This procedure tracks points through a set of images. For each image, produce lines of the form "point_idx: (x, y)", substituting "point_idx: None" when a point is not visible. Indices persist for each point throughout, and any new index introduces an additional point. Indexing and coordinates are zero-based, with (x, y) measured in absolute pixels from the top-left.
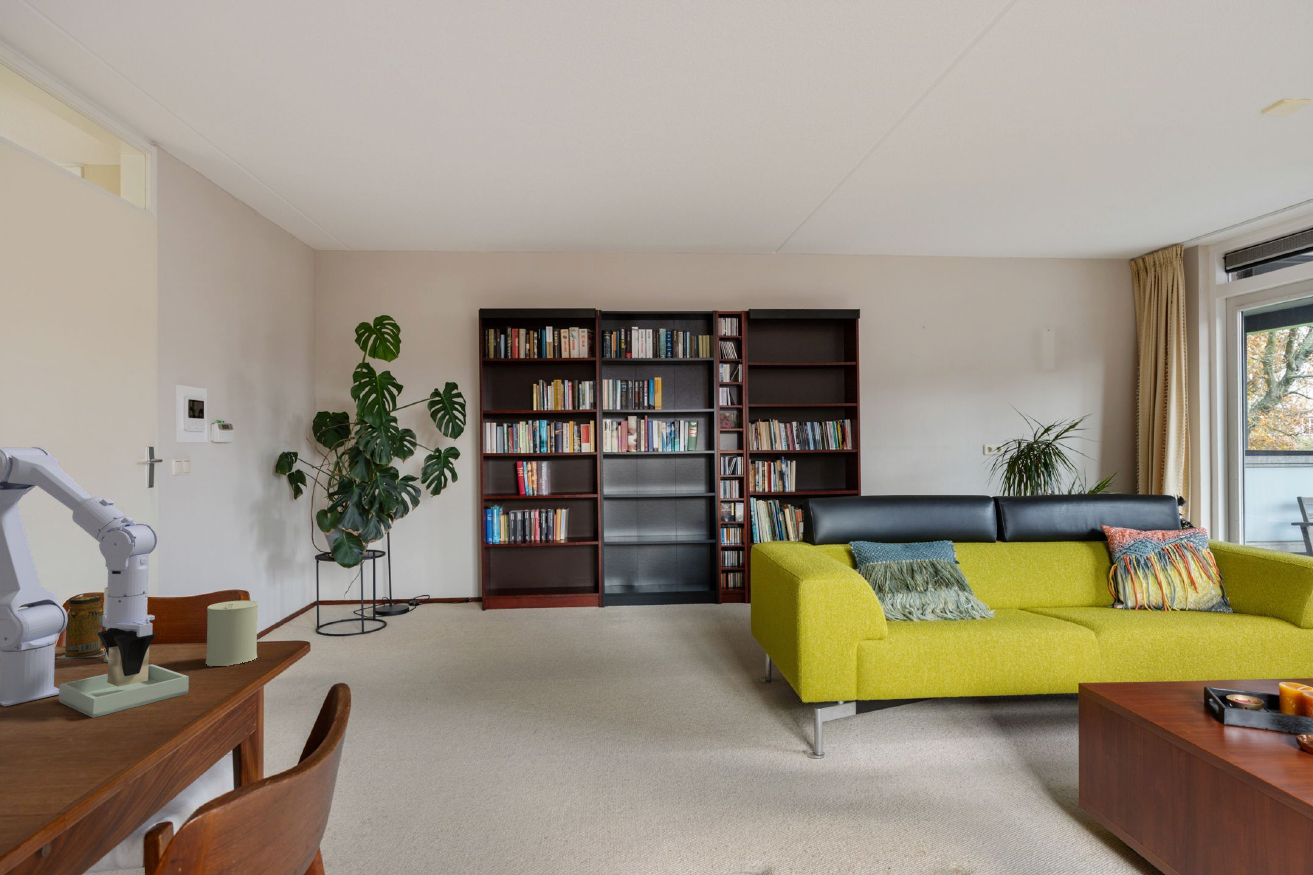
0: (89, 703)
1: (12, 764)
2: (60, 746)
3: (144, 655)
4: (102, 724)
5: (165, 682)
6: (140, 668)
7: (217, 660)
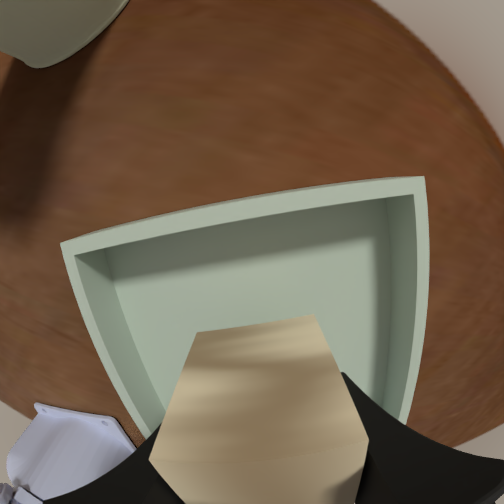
0: None
1: (460, 444)
2: (463, 419)
3: (393, 417)
4: (439, 387)
5: (427, 272)
6: (352, 382)
7: (88, 24)
